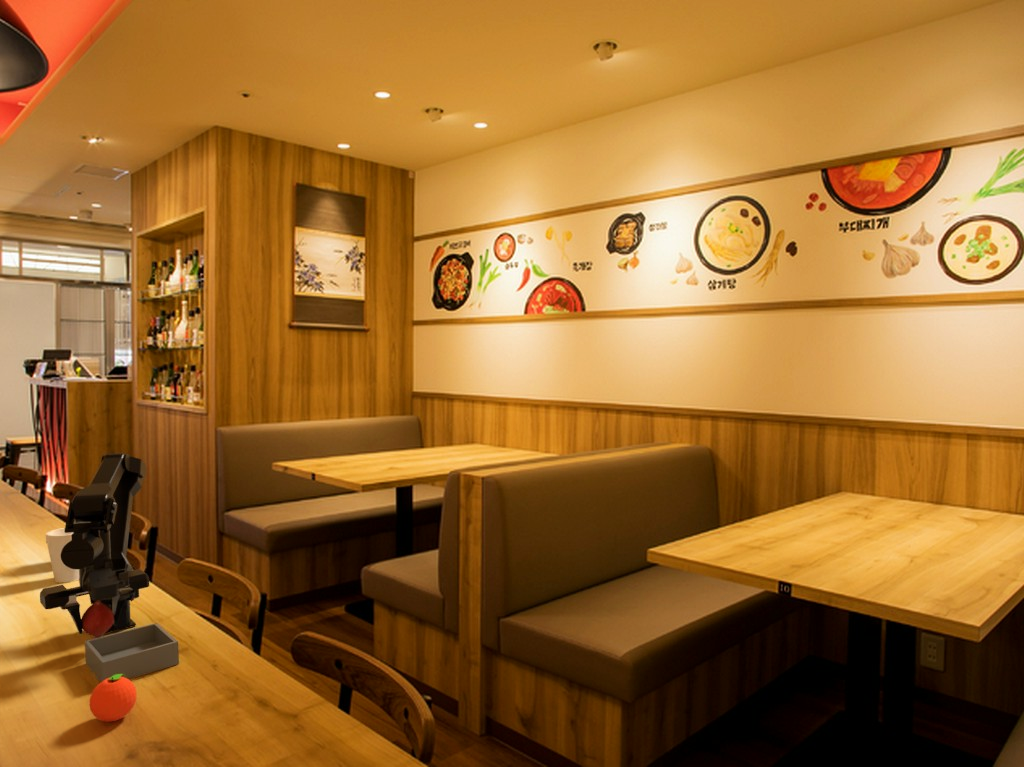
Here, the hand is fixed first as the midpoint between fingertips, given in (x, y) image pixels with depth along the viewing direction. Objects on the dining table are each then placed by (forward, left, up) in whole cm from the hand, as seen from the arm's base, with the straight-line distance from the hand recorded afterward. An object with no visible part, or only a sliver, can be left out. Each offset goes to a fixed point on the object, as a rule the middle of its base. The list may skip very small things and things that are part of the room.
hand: (98, 629), depth 147 cm
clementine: (+32, -5, -5) cm, 33 cm away
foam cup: (-56, +6, -5) cm, 57 cm away
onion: (0, 0, -2) cm, 2 cm away
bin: (+12, +3, -4) cm, 13 cm away
